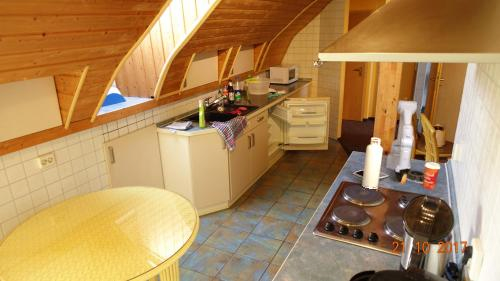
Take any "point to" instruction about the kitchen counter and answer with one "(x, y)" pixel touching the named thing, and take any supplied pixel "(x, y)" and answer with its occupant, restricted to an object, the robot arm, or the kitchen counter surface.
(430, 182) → the paper cup
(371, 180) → the bottle
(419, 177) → the dark brown round dish
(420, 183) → the mat
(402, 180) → the tan rounded lump
